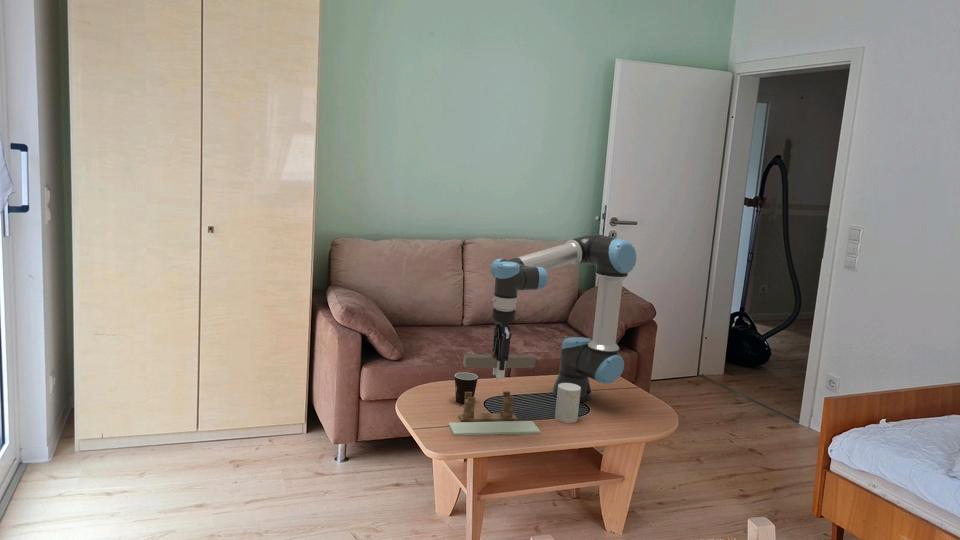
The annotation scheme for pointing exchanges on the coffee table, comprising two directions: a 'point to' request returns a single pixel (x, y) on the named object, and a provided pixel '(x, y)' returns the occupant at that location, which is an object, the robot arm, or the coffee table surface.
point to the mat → (493, 428)
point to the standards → (488, 417)
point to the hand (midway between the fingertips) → (498, 376)
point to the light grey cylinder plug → (567, 402)
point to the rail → (491, 361)
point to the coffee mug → (464, 385)
